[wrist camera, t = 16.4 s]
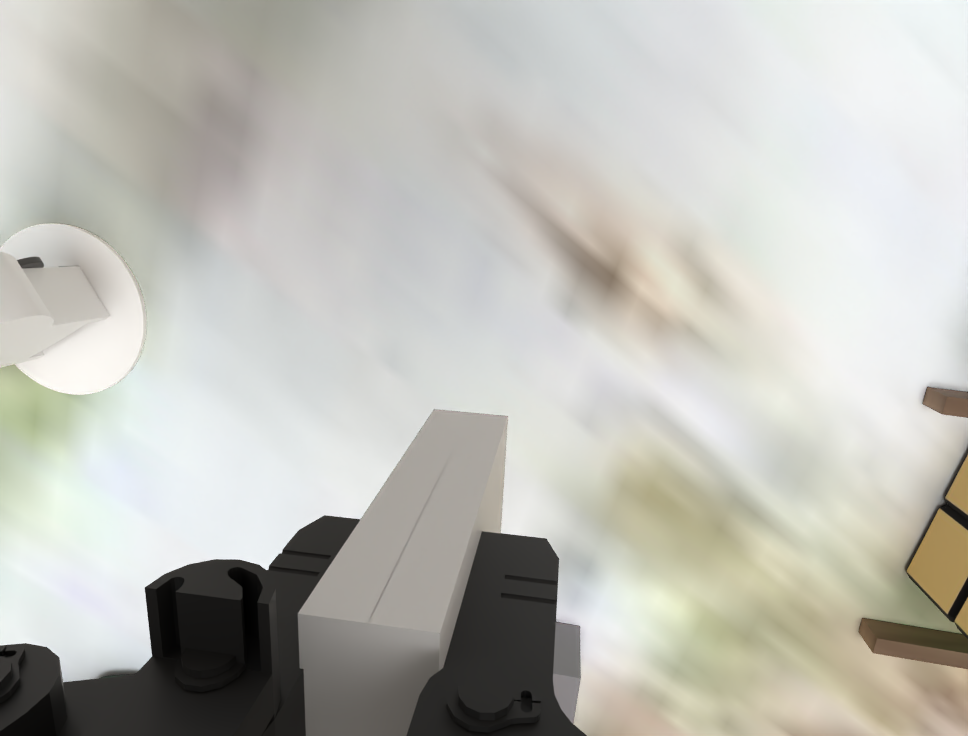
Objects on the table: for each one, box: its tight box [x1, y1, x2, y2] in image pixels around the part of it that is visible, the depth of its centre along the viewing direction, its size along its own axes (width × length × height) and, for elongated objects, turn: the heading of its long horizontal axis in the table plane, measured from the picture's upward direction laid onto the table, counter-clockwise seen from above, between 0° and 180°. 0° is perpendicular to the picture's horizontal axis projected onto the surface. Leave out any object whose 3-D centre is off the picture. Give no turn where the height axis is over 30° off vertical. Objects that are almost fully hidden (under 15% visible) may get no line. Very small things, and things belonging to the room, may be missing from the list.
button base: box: [553, 622, 581, 724], centre depth 42 cm, size 8×8×5 cm
